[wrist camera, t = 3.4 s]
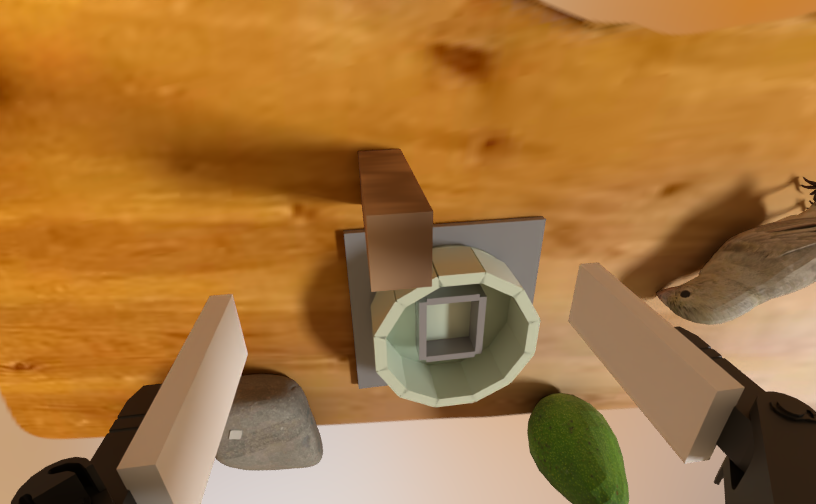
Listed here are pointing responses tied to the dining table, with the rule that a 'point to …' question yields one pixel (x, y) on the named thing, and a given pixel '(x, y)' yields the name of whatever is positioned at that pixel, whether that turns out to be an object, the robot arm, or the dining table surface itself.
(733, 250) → the decorative bird
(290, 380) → the stone
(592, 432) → the fruit
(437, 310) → the square base green ring
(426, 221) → the wooden rectangular beam
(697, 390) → the robot arm
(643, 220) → the dining table surface
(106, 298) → the dining table surface
